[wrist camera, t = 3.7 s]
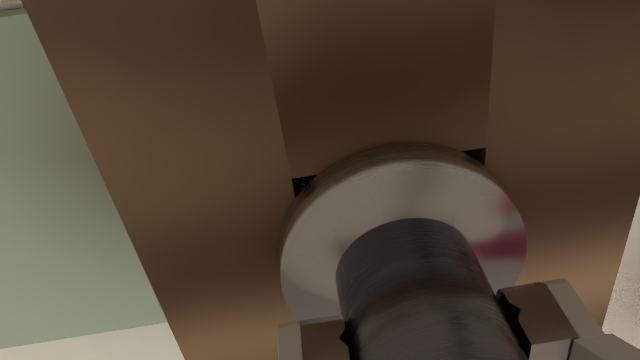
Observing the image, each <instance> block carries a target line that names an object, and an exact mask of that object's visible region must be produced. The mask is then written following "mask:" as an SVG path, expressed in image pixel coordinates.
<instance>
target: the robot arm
mask: <svg viewBox="0 0 640 360" xmlns="http://www.w3.org/2000/svg"><path fill="white" fill-rule="evenodd" d="M496 297H497V299H498V301H499V303H500V305H501V307H502V309H503V311H504V313H505V315H506V317H507V319H508V321H509V323H510V325H511V327H512V329H513V330H514V332H515V334H516V336H517V338H518V340H519V342H520V344H521V346H522V348H523V350H524V352H525V354H526V356H527V358H528V360H640V349H638V348H636V347H634V346H633V345H631V344H629V343H627V342H626V341H624V340H622V339H620V338H619V337H617V336H615V335H613V334H605V333H604V332H603V331H602V329H601V328H600V326H599V325H598V323H597V322H596V321H595V319H594V318H593V316H592V315H591V313H590V312H589V310H588V309H587V308H586V306H585V305H584V303H583V302H582V300H581V299H580V298H579V296H578V295H577V293H576V292H575V290H574V289H573V287H572V286H571V285H570V283H569V282H568V281H567V280H566V279H564V278H562V279H556V280H550V281H543V282H535V283H529V284H523V285H518V286H512V287H506V288H501V289H498V291H497V292H496ZM278 360H350V357H349V351H348V344H347V338H346V332H345V326H344V320H343V315H336V316H329V317H321V318H314V319H306V320H301V321H293V322H286V323H280V324H279V325H278Z"/></svg>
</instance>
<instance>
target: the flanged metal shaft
mask: <svg viewBox="0 0 640 360" xmlns="http://www.w3.org/2000/svg"><path fill="white" fill-rule="evenodd" d="M312 176H313V179H312V180H311V181H310V182H309V183H308V184H307V185H306V186H305V187H304V188H303V189H302V191H301V192H300V193H299V194H298V196H297V197H296V198H295V200H294V201H293V203H292V205H291V206H290V208H289V210H288V212H287V214H286V216H285V219H284V222H283V224H282V229H281V234H280V247H279V250H280V276H281V286H282V292H283V295H284V298H285V301H286V304H287V305H288V307H289V309H290V311H291V312H292V314H293V315H294V316H295V318H296V319H297V320H298V321H301V320H306V319H314V318H321V317H329V316H336V315H343V320H344V326H345V332H346V338H347V344H348V351H349V357H350V360H528V358H527V356H526V354H525V352H524V350H523V348H522V346H521V344H520V342H519V340H518V338H517V336H516V334H515V332H514V330H513V329H512V327H511V325H510V323H509V321H508V319H507V317H506V315H505V313H504V311H503V309H502V307H501V305H500V303H499V301H498V299H497V297H496V292H497V291H498V289H501V288H506V287H512V286H514V285H515V283H516V281H517V279H518V278H519V276H520V273H521V271H522V268H523V266H524V262H525V257H526V253H527V236H526V229H525V226H524V223H523V220H522V217H521V216H520V214H519V212H518V210H517V208H516V207H515V205H514V204H513V202H512V201H511V199H510V198H509V196H508V195H507V194H506V192H505V191H504V189H503V188H502V186H501V185H500V183H499V182H498V180H497V179H496V178H495V177H494V175H493V174H492V173H491V172H490V171H489V169H487V168H486V167H485V166H484V165H483V164H482V163H480V162H479V161H478V160H476V159H474V158H473V157H471V156H469V155H468V154H466V153H463V152H461V151H459V150H456V149H454V148H451V147H447V146H443V145H439V144H433V143H425V142H400V143H391V144H385V145H380V146H376V147H371V148H368V149H365V150H362V151H360V152H357V153H354V154H352V155H350V156H348V157H345V158H343V159H341V160H339V161H338V162H336V163H334V164H333V165H331V166H329V167H328V168H326V169H325V170H323V171H322V172H321V173H320V174H317V175H312Z"/></svg>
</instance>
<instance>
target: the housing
mask: <svg viewBox="0 0 640 360" xmlns="http://www.w3.org/2000/svg"><path fill="white" fill-rule="evenodd" d="M21 1H22V3H23V5H24V7H25V10H26V12H27V14H28V16H29V18H30V20H31V23H32V25H33V27H34V29H35V31H36V34H37V36H38V38H39V40H40V42H41V45H42V47H43V49H44V51H45V53H46V56H47V58H48V60H49V62H50V64H51V67H52V69H53V71H54V73H55V75H56V78H57V80H58V82H59V84H60V86H61V89H62V91H63V93H64V95H65V97H66V100H67V102H68V104H69V106H70V108H71V110H72V113H73V115H74V117H75V119H76V121H77V124H78V126H79V128H80V130H81V132H82V135H83V137H84V139H85V141H86V143H87V146H88V148H89V150H90V152H91V154H92V157H93V159H94V161H95V163H96V165H97V168H98V170H99V172H100V174H101V176H102V179H103V181H104V183H105V185H106V187H107V190H108V192H109V194H110V196H111V198H112V201H113V203H114V205H115V207H116V209H117V211H118V214H119V216H120V218H121V220H122V222H123V225H124V227H125V229H126V231H127V233H128V236H129V238H130V240H131V242H132V244H133V247H134V249H135V251H136V253H137V255H138V258H139V260H140V262H141V264H142V266H143V269H144V271H145V273H146V275H147V277H148V280H149V282H150V284H151V286H152V288H153V291H154V293H155V295H156V297H157V299H158V301H159V304H160V306H161V308H162V310H163V312H164V315H165V317H166V319H167V321H168V323H169V326H170V328H171V330H172V332H173V334H174V337H175V339H176V341H177V343H178V345H179V348H180V350H181V352H182V354H183V356H184V359H185V360H278V325H279V324H280V323H286V322H293V321H298V320H297V319H296V318H295V316H294V315H293V314H292V312H291V311H290V309H289V307H288V305H287V304H286V301H285V298H284V295H283V292H282V286H281V276H280V250H279V247H280V234H281V229H282V224H283V222H284V219H285V216H286V214H287V212H288V210H289V208H290V206H291V205H292V203H293V201H294V200H295V198H296V197H297V196H298V194H299V193H300V192H301V191H302V187H301V182H300V177H305V176H311V175H317V174H320V173H321V172H322V171H323V170H325V169H326V168H328V167H329V166H331V165H333V164H334V163H336V162H338V161H339V160H341V159H343V158H345V157H348V156H350V155H352V154H354V153H357V152H360V151H362V150H365V149H368V148H371V147H376V146H380V145H385V144H391V143H400V142H425V143H433V144H439V145H443V146H447V147H451V148H454V149H456V150H459V151H461V152H463V153H466V154H468V155H469V156H471V157H473V158H474V159H476V160H478V161H479V162H480V163H482V164H483V165H484V166H485V167H486V168H487V169H489V171H490V172H491V173H492V174H493V175H494V177H495V178H496V179H497V180H498V182H499V183H500V185H501V186H502V188H503V189H504V191H505V192H506V194H507V195H508V196H509V198H510V199H511V201H512V202H513V204H514V205H515V207H516V208H517V210H518V212H519V214H520V216H521V217H522V220H523V223H524V226H525V229H526V236H527V253H526V257H525V262H524V266H523V268H522V271H521V273H520V276H519V278H518V279H517V281H516V283H515V285H514V286H518V285H523V284H529V283H535V282H543V281H550V280H556V279H562V278H564V279H566V280H567V281H568V282H569V283H570V285H571V286H572V287H573V289H574V290H575V292H576V293H577V295H578V296H579V298H580V299H581V300H582V302H583V303H584V305H585V306H586V308H587V309H588V310H589V312H590V313H591V315H592V316H593V318H594V319H595V321H596V322H597V323H598V325H599V326H600V328H601V329H602V325H603V322H604V318H605V315H606V311H607V308H608V304H609V301H610V297H611V294H612V290H613V287H614V283H615V280H616V276H617V273H618V269H619V266H620V262H621V259H622V255H623V252H624V248H625V245H626V241H627V238H628V234H629V231H630V227H631V224H632V220H633V217H634V213H635V210H636V206H637V203H638V199H639V196H640V0H21Z"/></svg>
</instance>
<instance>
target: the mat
mask: <svg viewBox="0 0 640 360" xmlns="http://www.w3.org/2000/svg"><path fill="white" fill-rule="evenodd" d="M165 322H168V321H167V319H166V317H165V315H164V312H163V310H162V308H161V306H160V304H159V301H158V299H157V297H156V295H155V293H154V291H153V288H152V286H151V284H150V282H149V280H148V277H147V275H146V273H145V271H144V269H143V266H142V264H141V262H140V260H139V258H138V255H137V253H136V251H135V249H134V247H133V244H132V242H131V240H130V238H129V236H128V233H127V231H126V229H125V227H124V225H123V222H122V220H121V218H120V216H119V214H118V211H117V209H116V207H115V205H114V203H113V201H112V198H111V196H110V194H109V192H108V190H107V187H106V185H105V183H104V181H103V179H102V176H101V174H100V172H99V170H98V168H97V165H96V163H95V161H94V159H93V157H92V154H91V152H90V150H89V148H88V146H87V143H86V141H85V139H84V137H83V135H82V132H81V130H80V128H79V126H78V124H77V121H76V119H75V117H74V115H73V113H72V110H71V108H70V106H69V104H68V102H67V100H66V97H65V95H64V93H63V91H62V89H61V86H60V84H59V82H58V80H57V78H56V75H55V73H54V71H53V69H52V67H51V64H50V62H49V60H48V58H47V56H46V53H45V51H44V49H43V47H42V45H41V42H40V40H39V38H38V36H37V34H36V31H35V29H34V27H33V25H32V23H31V20H30V18H29V16H28V14H27V12H26V10H25V8H19V9H12V10H6V11H0V349H3V348H9V347H16V346H22V345H28V344H34V343H40V342H47V341H53V340H59V339H65V338H72V337H78V336H84V335H90V334H96V333H103V332H109V331H115V330H121V329H128V328H134V327H140V326H146V325H152V324H159V323H165Z"/></svg>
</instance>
